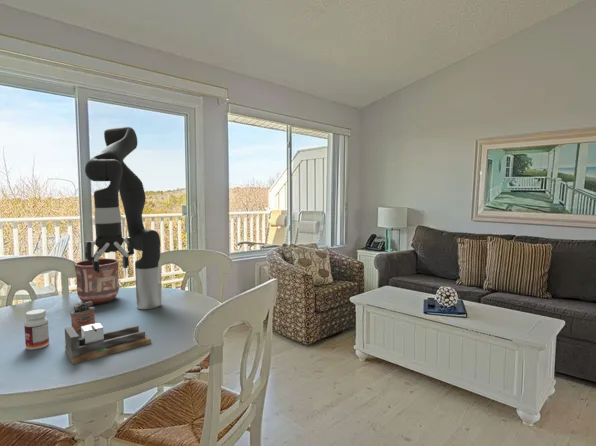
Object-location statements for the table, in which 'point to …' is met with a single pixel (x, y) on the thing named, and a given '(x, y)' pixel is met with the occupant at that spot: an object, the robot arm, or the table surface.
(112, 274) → the pottery
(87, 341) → the gauge slider
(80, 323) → the lighter
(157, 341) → the table surface
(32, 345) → the pill bottle
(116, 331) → the gauge track
